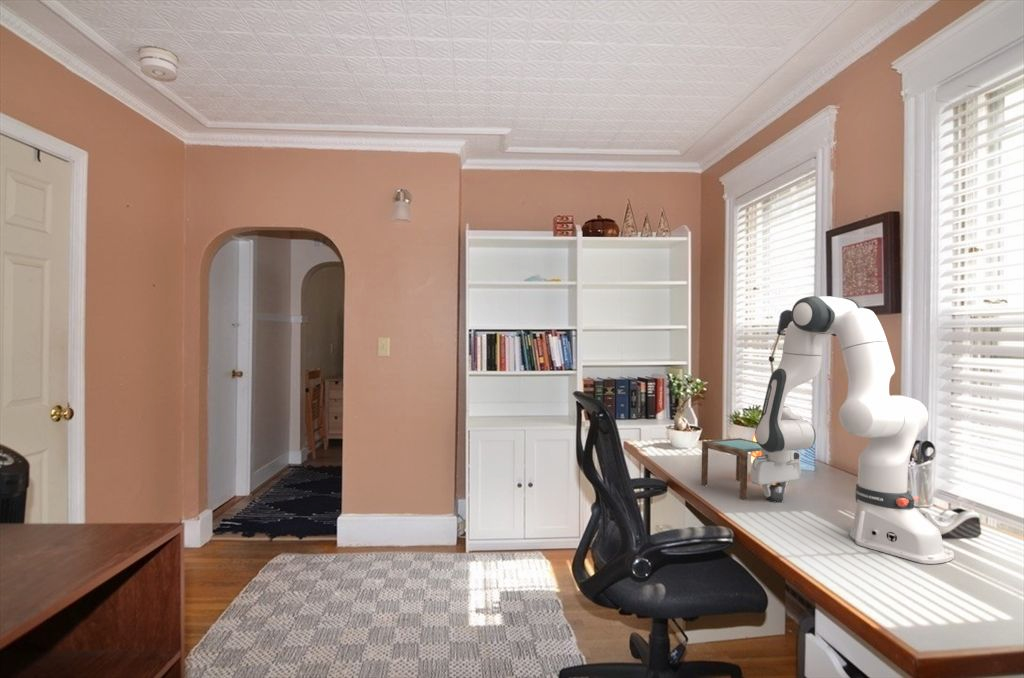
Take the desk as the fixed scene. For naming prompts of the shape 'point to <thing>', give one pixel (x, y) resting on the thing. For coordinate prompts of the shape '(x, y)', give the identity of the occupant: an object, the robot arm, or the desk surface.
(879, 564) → the desk surface
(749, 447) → the trapdoor
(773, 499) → the iron weight
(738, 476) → the teal-topped side table
